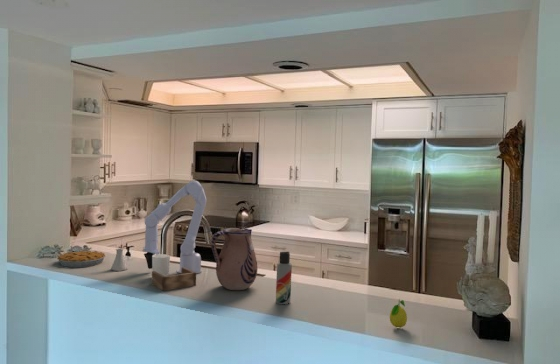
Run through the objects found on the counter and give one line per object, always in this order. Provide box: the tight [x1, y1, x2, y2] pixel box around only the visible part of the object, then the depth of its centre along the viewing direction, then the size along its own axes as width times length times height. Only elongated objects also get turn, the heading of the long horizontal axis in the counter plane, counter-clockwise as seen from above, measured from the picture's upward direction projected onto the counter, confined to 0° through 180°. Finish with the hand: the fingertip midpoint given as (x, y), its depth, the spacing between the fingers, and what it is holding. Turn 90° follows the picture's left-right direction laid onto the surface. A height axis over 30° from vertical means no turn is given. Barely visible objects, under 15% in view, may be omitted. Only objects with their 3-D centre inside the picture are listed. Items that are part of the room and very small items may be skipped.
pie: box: [57, 250, 106, 268], centre depth 219 cm, size 22×22×5 cm
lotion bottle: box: [275, 251, 293, 305], centre depth 166 cm, size 6×6×20 cm
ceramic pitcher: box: [210, 227, 258, 291], centre depth 183 cm, size 18×21×25 cm
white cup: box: [151, 253, 171, 276], centre depth 196 cm, size 8×8×10 cm
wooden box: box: [151, 267, 197, 291], centre depth 185 cm, size 15×12×6 cm
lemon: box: [389, 298, 408, 328], centre depth 143 cm, size 7×6×10 cm
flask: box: [110, 248, 128, 272], centre depth 208 cm, size 7×7×10 cm
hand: (150, 268), depth 205 cm, fingers closed
